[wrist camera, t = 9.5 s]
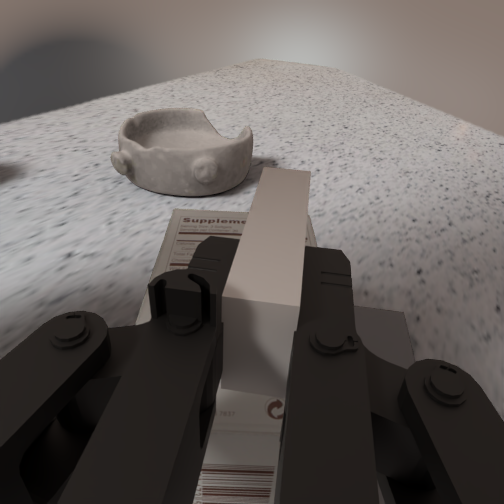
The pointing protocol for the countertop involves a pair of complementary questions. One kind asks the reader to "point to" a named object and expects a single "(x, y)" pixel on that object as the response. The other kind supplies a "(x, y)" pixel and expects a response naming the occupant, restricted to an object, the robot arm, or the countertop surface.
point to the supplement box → (227, 401)
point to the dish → (181, 153)
